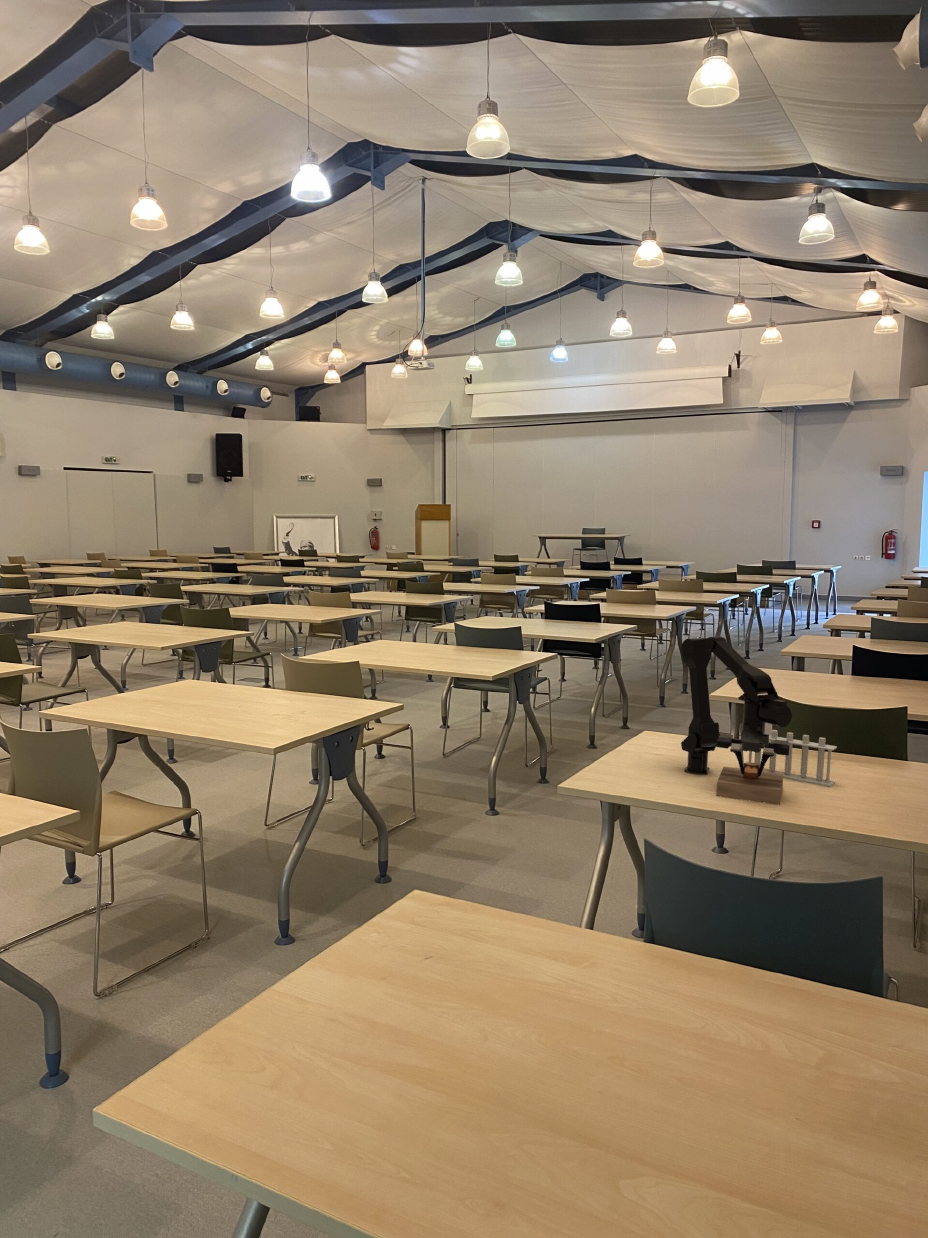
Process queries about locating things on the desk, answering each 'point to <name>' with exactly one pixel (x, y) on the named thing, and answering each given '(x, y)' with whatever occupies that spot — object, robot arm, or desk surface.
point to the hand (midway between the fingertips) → (751, 775)
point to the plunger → (751, 770)
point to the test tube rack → (804, 760)
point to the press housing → (750, 786)
